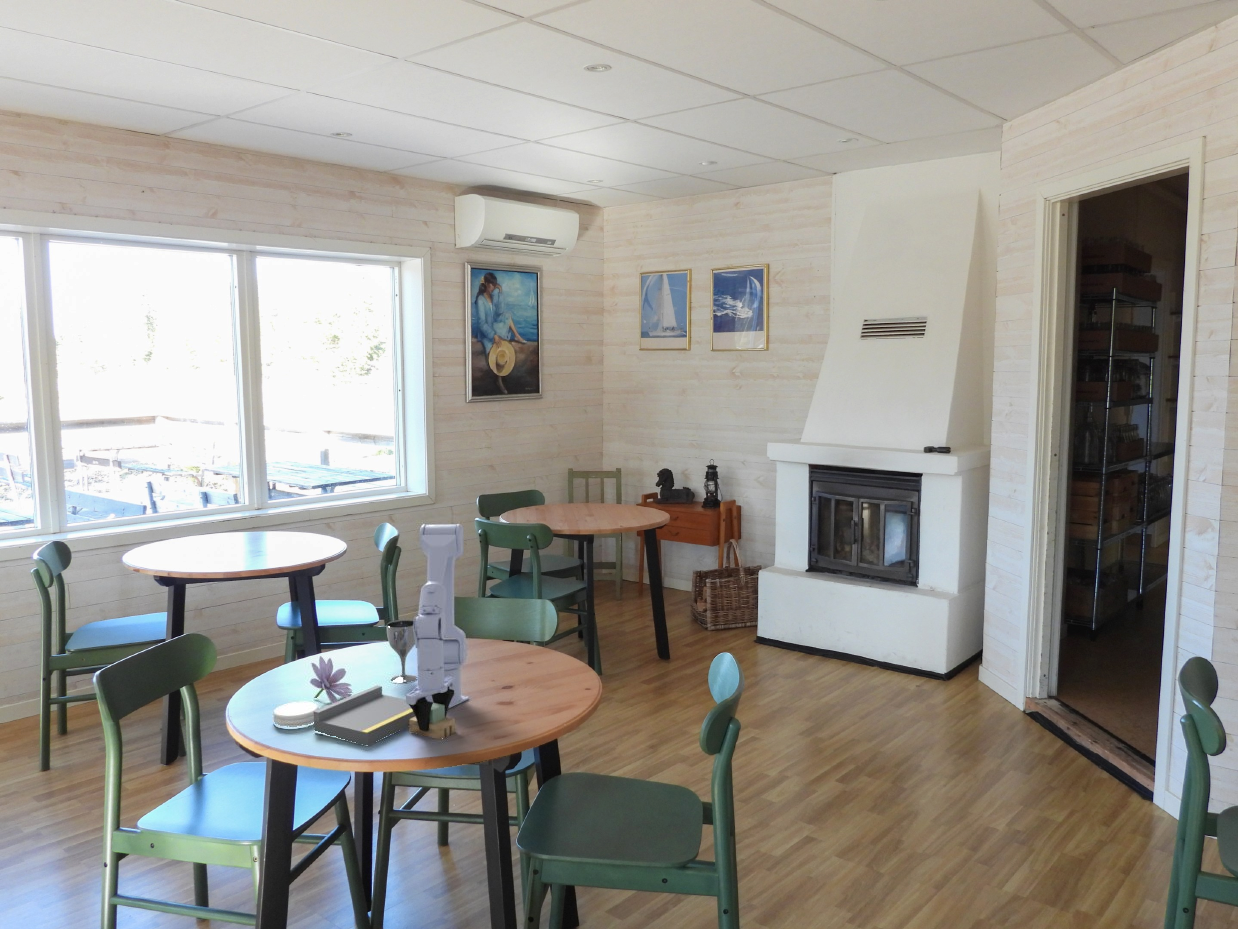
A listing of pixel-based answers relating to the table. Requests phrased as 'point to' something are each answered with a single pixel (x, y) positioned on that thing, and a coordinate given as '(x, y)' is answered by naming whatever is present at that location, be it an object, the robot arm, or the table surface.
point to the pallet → (434, 728)
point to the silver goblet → (401, 644)
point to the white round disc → (295, 714)
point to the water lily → (330, 680)
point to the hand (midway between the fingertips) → (432, 726)
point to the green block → (437, 713)
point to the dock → (364, 717)
